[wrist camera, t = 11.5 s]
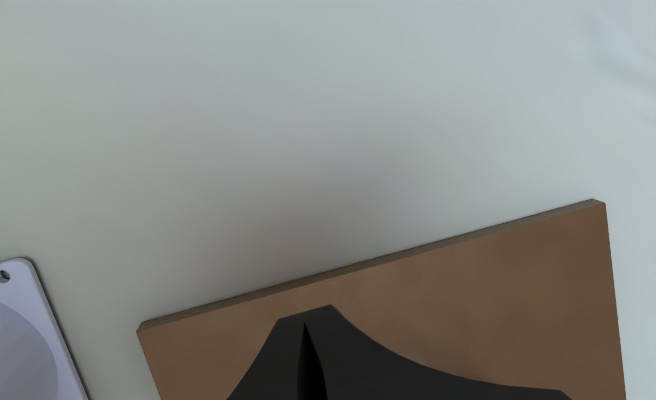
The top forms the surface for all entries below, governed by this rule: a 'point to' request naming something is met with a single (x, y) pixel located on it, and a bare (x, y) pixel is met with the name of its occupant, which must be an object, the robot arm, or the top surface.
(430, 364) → the square bronze board
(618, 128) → the top surface
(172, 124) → the top surface
